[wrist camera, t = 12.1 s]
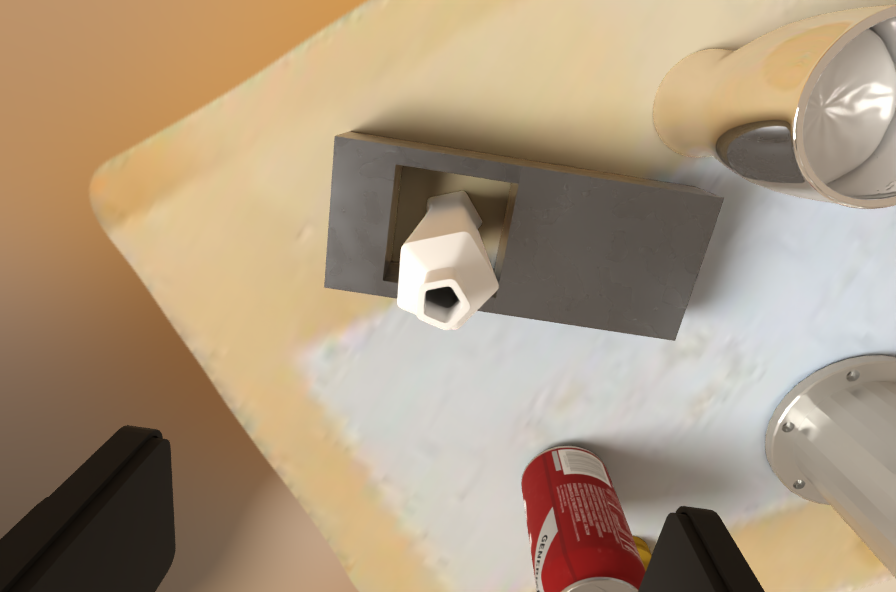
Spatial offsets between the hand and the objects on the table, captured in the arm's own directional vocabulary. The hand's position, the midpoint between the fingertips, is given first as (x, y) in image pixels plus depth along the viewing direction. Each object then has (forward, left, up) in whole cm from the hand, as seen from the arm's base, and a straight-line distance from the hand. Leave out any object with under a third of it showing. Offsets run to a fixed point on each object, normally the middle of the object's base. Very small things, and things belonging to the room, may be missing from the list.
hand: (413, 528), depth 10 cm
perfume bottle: (0, 0, -26) cm, 26 cm away
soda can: (-12, +19, -26) cm, 35 cm away
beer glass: (-14, -9, -26) cm, 31 cm away
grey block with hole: (-4, 0, -26) cm, 26 cm away
